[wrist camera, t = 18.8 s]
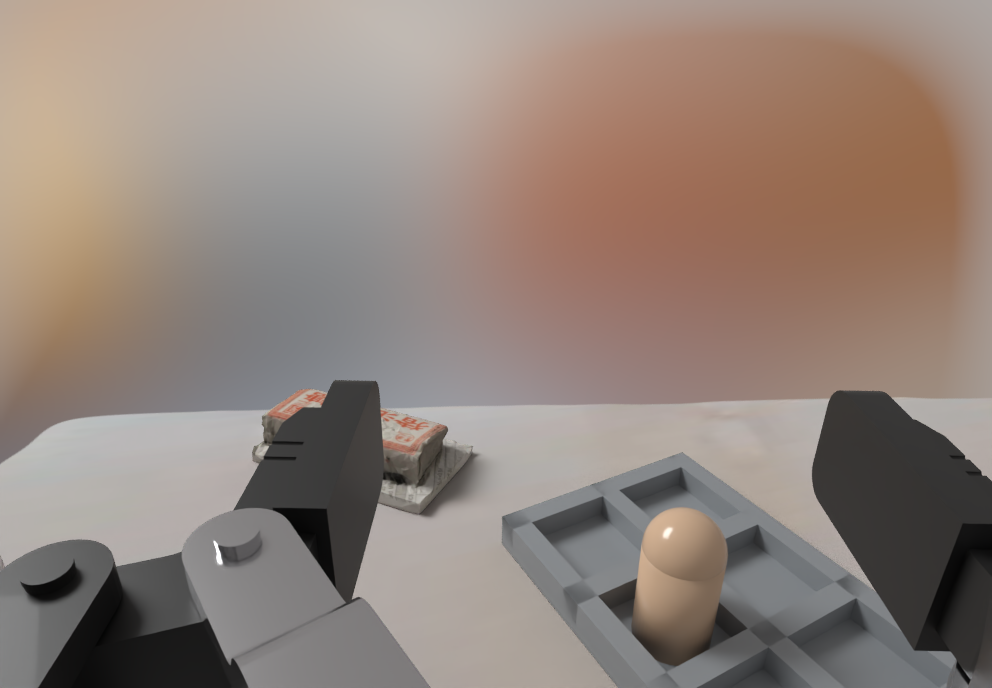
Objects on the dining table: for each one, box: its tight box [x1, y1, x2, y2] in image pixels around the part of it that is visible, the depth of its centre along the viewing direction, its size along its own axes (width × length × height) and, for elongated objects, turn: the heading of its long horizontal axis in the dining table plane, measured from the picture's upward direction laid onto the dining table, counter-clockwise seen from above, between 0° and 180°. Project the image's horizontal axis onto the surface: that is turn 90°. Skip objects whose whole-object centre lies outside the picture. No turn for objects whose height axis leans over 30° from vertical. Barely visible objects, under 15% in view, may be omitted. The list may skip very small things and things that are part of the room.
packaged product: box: [252, 389, 473, 514], centre depth 62 cm, size 18×5×10 cm
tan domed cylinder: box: [631, 507, 728, 666], centre depth 42 cm, size 5×5×10 cm
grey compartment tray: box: [502, 452, 956, 688], centre depth 46 cm, size 26×18×3 cm
